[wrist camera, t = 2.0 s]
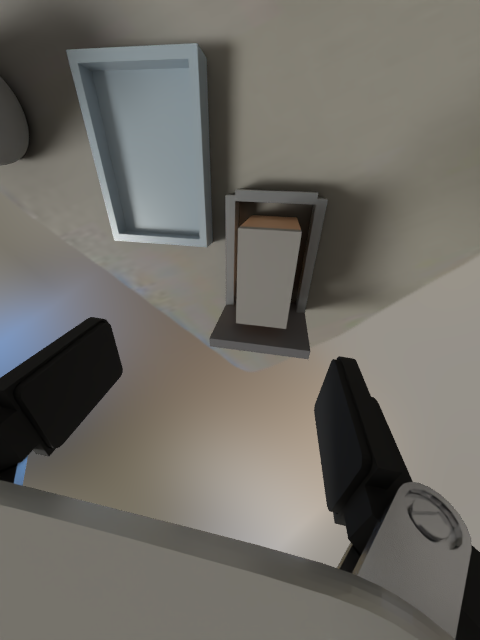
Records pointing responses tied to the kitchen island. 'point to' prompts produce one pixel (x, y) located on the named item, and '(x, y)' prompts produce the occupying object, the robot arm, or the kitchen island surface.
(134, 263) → the kitchen island surface
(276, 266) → the block
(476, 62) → the kitchen island surface
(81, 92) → the tray
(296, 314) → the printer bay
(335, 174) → the kitchen island surface
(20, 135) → the smart speaker
